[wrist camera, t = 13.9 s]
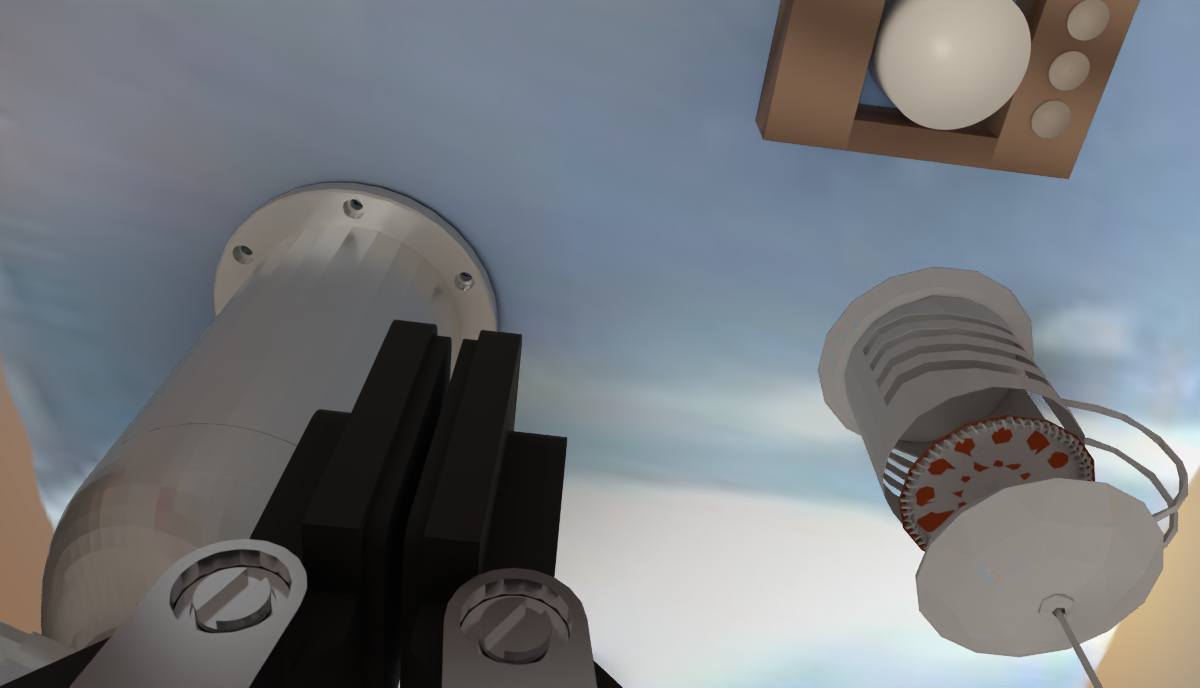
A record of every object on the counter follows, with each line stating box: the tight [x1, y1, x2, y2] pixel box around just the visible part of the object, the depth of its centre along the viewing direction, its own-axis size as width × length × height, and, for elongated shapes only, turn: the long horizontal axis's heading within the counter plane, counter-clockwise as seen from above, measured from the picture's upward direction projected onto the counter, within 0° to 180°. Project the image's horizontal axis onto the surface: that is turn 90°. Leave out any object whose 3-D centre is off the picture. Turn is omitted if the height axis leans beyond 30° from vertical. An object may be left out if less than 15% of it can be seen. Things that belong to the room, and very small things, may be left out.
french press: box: [818, 267, 1188, 688], centre depth 32 cm, size 10×12×25 cm
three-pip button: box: [868, 0, 1031, 130], centre depth 34 cm, size 5×5×3 cm
